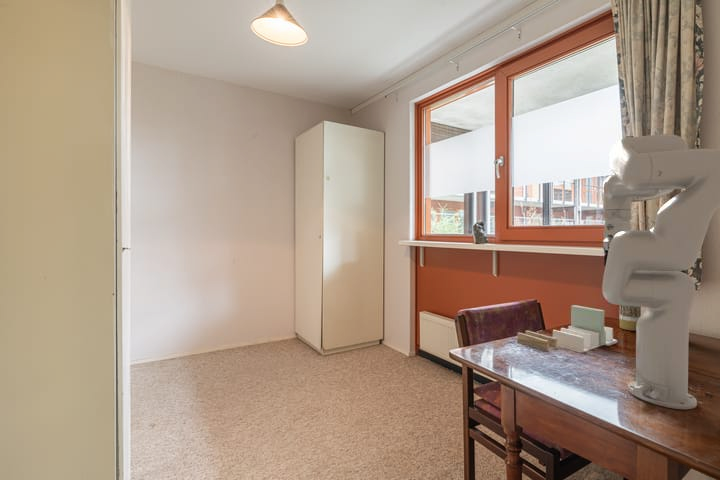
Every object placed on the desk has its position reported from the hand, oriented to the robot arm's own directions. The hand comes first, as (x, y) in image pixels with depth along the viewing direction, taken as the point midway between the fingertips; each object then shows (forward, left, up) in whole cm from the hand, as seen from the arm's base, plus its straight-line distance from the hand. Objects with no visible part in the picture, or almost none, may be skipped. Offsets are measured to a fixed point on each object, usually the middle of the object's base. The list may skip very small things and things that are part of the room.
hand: (616, 266), depth 111 cm
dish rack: (-1, +10, -29) cm, 31 cm away
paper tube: (+36, +10, -29) cm, 47 cm away
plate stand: (-18, +17, -29) cm, 38 cm away
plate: (+1, +10, -28) cm, 30 cm away
